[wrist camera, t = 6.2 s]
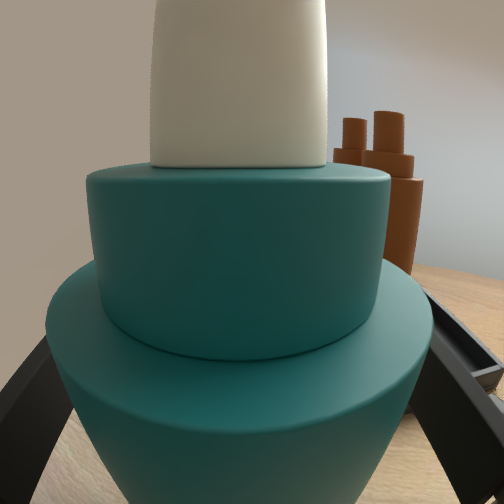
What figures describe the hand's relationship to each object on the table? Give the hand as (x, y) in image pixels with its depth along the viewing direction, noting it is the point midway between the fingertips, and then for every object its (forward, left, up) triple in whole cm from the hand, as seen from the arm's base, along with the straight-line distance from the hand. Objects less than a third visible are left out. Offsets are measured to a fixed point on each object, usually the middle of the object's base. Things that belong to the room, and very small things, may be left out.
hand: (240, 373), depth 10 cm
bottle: (0, -3, -8) cm, 9 cm away
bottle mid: (+13, +18, -8) cm, 23 cm away
